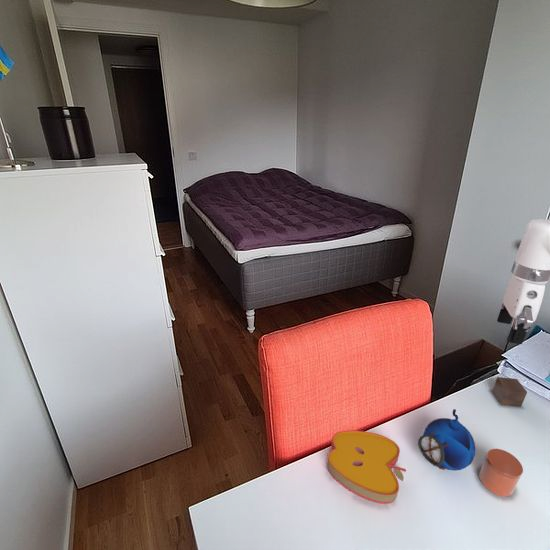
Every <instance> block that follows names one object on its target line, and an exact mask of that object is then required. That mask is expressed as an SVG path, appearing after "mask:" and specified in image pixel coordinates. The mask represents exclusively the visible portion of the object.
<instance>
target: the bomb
mask: <svg viewBox="0 0 550 550" xmlns="http://www.w3.org/2000/svg"><path fill="white" fill-rule="evenodd" d="M456 412H457V410H456V408H453V409H452V412H451V413H452V416H453V417H454V418H453V419H452V418H446V417H440V418H436V419H434V420H432V421H430V423H428V424H427V426H425V428H424V431H423V434H422V435H421V436H419V438H418V440H417V445H418V449H419V451H420V453H421V455H422V456H423V457H424V459H425V460H426V461H427V462H429V463H430V464H431V465H432V466H434V467H438V469H439V470H443V471H444V470H447V471H455V472H456V471H462V470H464V469H466V468H468V467H469V466H470V465H471V464H472V462H473V461H474V459H475V456H476V452H477V451H476V442H475V440H474V436H473V435H472V433H471V432H470V431H469V429H467V427H466V426H464V425H463V424H462V423H461V422H460V421H459V415H458V414H456Z"/></svg>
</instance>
